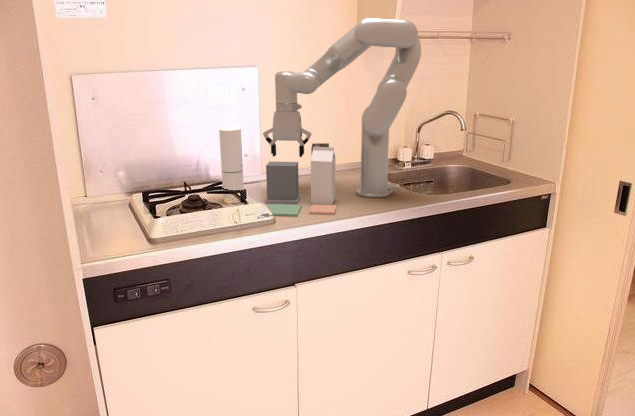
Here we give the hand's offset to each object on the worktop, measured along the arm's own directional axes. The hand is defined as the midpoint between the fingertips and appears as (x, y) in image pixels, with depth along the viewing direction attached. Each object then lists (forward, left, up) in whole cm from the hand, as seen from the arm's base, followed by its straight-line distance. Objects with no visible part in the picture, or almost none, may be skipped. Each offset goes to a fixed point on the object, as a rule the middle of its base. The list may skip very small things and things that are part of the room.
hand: (287, 156), depth 192 cm
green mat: (-2, +23, -13) cm, 27 cm away
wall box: (0, +11, -13) cm, 17 cm away
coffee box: (-11, -7, -14) cm, 19 cm away
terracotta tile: (-15, +21, -13) cm, 29 cm away
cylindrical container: (+17, +13, -14) cm, 25 cm away
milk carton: (-14, +11, -14) cm, 22 cm away
